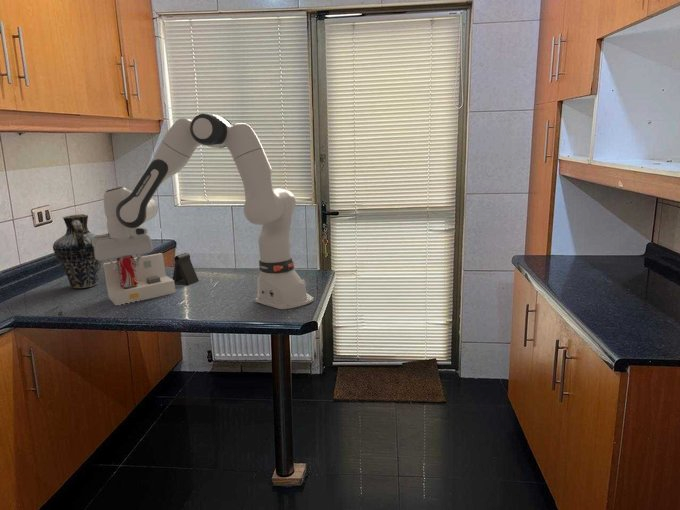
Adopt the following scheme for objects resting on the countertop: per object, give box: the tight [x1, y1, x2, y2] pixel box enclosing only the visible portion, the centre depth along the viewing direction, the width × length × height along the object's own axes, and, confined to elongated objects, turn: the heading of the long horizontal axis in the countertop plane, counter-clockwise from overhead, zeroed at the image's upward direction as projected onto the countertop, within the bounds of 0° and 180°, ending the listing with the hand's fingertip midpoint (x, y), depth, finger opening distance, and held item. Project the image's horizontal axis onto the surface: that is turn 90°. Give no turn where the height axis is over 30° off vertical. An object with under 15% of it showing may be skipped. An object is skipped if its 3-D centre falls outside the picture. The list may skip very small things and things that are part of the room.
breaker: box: [147, 276, 160, 284], centre depth 199 cm, size 4×4×4 cm
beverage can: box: [116, 255, 138, 288], centre depth 192 cm, size 6×6×12 cm
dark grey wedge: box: [172, 252, 199, 286], centre depth 212 cm, size 9×6×12 cm, turn 64°
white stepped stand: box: [102, 252, 177, 306], centre depth 197 cm, size 12×22×14 cm, turn 126°
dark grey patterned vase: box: [52, 213, 103, 289], centre depth 213 cm, size 21×19×30 cm
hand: (126, 267), depth 192 cm, fingers open, 6 cm apart
